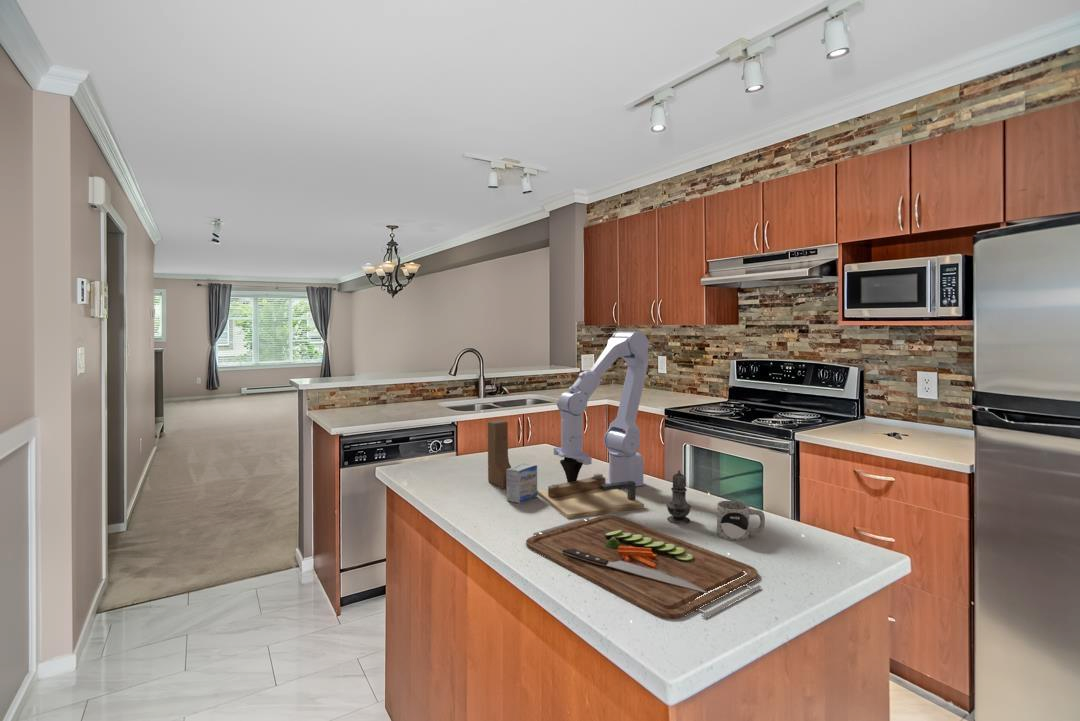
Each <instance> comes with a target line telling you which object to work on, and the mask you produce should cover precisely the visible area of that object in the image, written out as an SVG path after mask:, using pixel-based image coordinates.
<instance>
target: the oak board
mask: <svg viewBox="0 0 1080 721" xmlns="http://www.w3.org/2000/svg"><path fill="white" fill-rule="evenodd" d="M606 484H608V483H606ZM537 494H538V495H537V496H539V498H541V499H542V498H543V499H542V500H544V501H545V502H546V503H547V504H549V505H550V506H551V507H552V508H554V510H556V511H557V512H558V513H560V514H561V515H563V517H564V518H566V519H568V520H569V519H574V518H575V519H576V518H581V517H588V516H589V517H590V516H597V515H604V514H609V513H611V512H612V513H617V512H624V511H633V510H637V509H639V508H640V509H644V508H645V503H643V502H642V501H639V500H638V499H636V500H629V499H627V498H628V493H626V492H623V491H621V489H614V490H606V491H604V490H602V489H600V488H597V489H592V490H588V491H583V492H578V493H574V494H569V495H564V496H560V497H549V496H548V488H544V489H537ZM632 509H633V510H632ZM640 509H639V510H640ZM612 513H611V514H612Z"/></svg>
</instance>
